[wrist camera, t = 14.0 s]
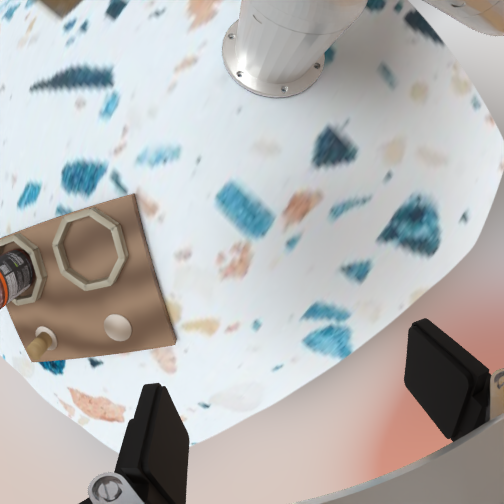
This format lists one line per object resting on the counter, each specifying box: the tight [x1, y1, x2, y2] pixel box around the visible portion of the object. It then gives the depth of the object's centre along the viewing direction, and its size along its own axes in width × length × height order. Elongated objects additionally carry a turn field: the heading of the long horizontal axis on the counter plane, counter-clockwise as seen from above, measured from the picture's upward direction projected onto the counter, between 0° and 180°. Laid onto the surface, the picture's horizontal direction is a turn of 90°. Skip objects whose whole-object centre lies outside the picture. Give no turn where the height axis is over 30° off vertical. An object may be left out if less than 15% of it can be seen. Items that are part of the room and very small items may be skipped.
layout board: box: [0, 194, 176, 362], centre depth 34 cm, size 20×26×6 cm
